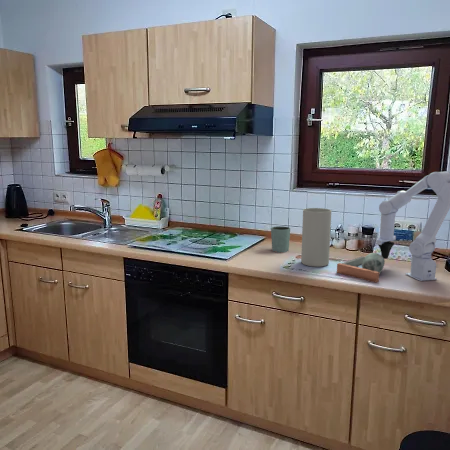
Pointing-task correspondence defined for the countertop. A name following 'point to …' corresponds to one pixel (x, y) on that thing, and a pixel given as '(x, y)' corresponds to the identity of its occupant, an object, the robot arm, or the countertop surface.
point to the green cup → (280, 238)
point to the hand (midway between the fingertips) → (384, 258)
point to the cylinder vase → (316, 237)
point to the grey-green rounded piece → (373, 262)
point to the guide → (357, 270)
